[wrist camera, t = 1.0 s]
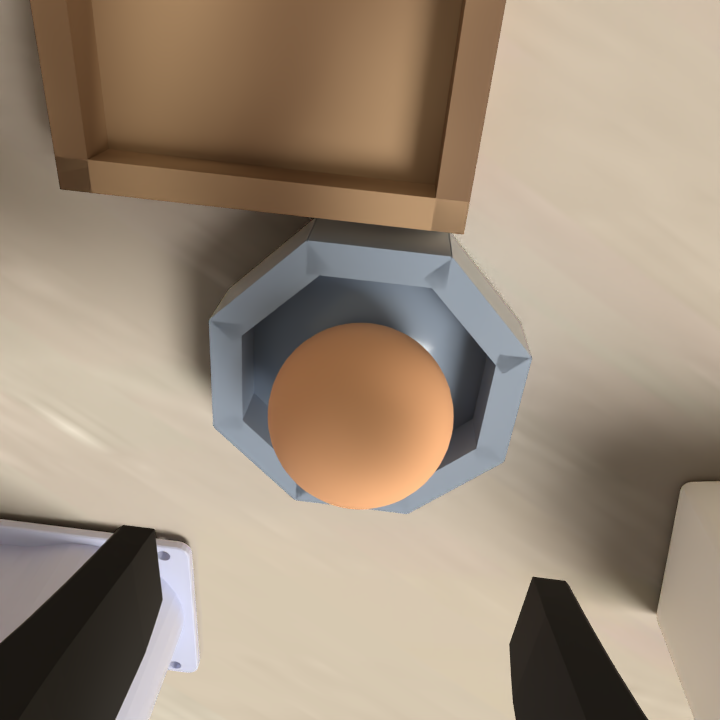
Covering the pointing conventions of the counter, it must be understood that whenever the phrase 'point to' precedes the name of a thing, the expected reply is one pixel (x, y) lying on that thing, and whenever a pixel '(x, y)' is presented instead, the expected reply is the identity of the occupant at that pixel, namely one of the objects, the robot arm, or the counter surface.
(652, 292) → the counter surface
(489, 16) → the tray
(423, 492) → the ramekin
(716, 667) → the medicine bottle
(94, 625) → the robot arm
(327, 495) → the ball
